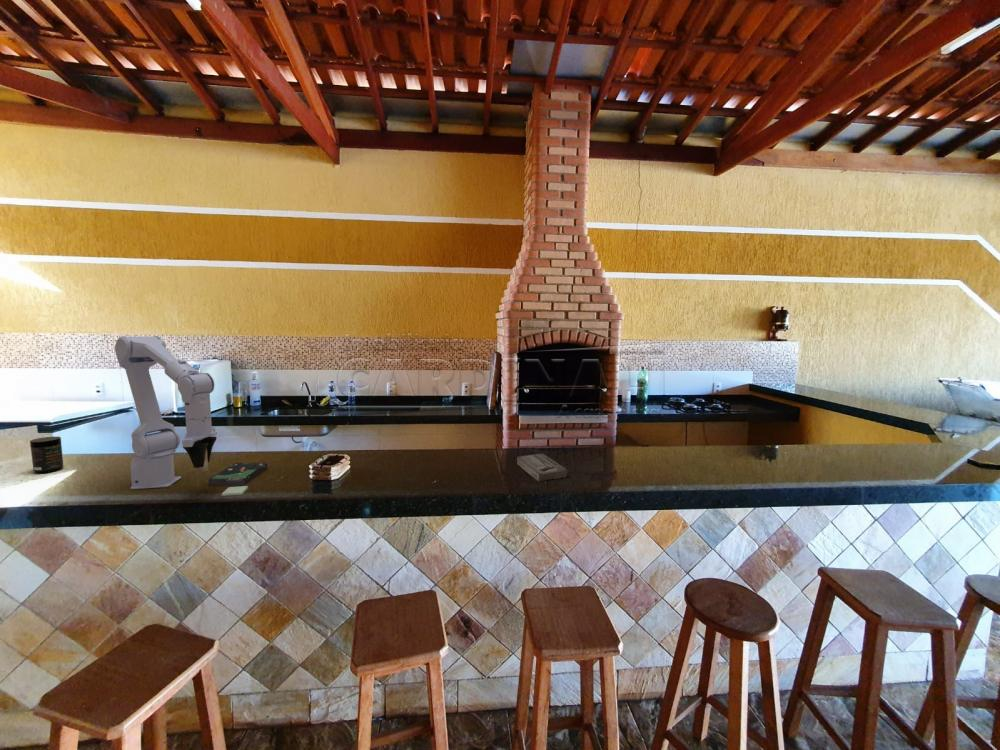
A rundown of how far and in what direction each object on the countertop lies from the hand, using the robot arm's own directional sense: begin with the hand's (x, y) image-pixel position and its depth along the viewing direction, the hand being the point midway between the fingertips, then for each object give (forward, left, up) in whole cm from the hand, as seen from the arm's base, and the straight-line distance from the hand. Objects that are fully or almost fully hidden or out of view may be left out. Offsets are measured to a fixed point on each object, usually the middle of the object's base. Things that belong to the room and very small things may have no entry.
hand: (201, 465), depth 117 cm
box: (+101, +1, -9) cm, 101 cm away
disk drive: (+5, +13, -9) cm, 17 cm away
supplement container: (-56, +30, -9) cm, 64 cm away
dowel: (0, 0, -2) cm, 2 cm away
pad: (+8, 0, -8) cm, 12 cm away
